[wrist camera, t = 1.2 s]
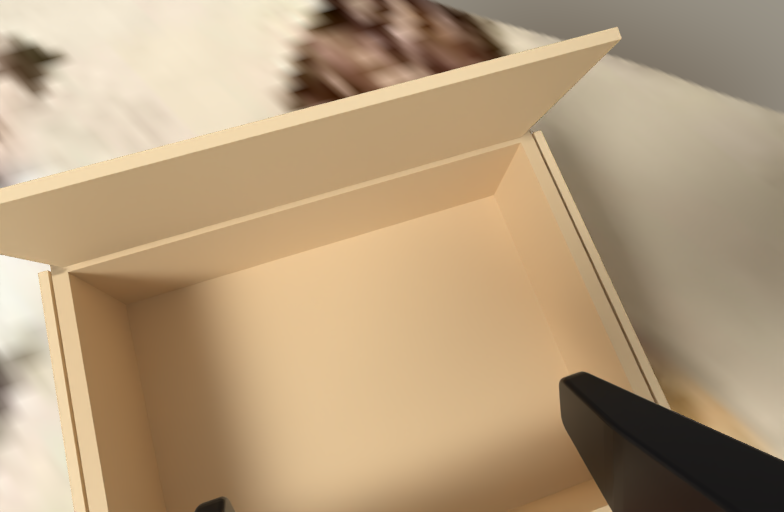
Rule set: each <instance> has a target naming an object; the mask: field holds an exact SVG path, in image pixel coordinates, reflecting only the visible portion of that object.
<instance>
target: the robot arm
mask: <svg viewBox="0 0 784 512" xmlns="http://www.w3.org/2000/svg"><path fill="white" fill-rule="evenodd" d="M559 398H560V412H561V419H562V422H563V425H564V427H565V429H566V431H567V433H568V435H569V437H570V438H571V440H572V442H573V444H574V445H575V447H576V449H577V451H578V452H579V454H580V456H581V458H582V460H583V461H584V463H585V465H586V467H587V468H588V470H589V472H590V474H591V475H592V477H593V479H594V481H595V482H596V484H597V486H598V488H599V489H600V491H601V493H602V495H603V497H604V498H605V500H606V502H607V503H608V505H609V507H610V508H611V510H612V512H784V461H783V460H781V459H779V458H776V457H774V456H772V455H770V454H767V453H765V452H763V451H761V450H759V449H756V448H754V447H752V446H750V445H747V444H745V443H743V442H741V441H739V440H736V439H734V438H732V437H730V436H727V435H725V434H723V433H721V432H719V431H716V430H714V429H712V428H710V427H707V426H705V425H703V424H701V423H699V422H696V421H694V420H692V419H690V418H687V417H685V416H683V415H681V414H679V413H676V412H674V411H672V410H670V409H667V408H665V407H663V406H661V405H659V404H656V403H654V402H652V401H650V400H647V399H645V398H643V397H641V396H639V395H636V394H634V393H632V392H630V391H627V390H625V389H623V388H621V387H619V386H616V385H614V384H612V383H610V382H607V381H605V380H603V379H601V378H599V377H596V376H594V375H592V374H590V373H587V372H583V371H581V372H577V373H574V374H571V375H568V376H566V377H563V378H561V379H560V381H559ZM194 512H235V510H234V508H233V506H232V504H231V502H230V500H229V499H228V498H227V497H225V496H221V497H218V498H215V499H212V500H210V501H207V502H204V503H201V504H200V505H199V506H198V507H197V508H196V509H195V511H194Z"/></svg>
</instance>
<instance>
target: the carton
mask: <svg viewBox="0 0 784 512" xmlns="http://www.w3.org/2000/svg"><path fill="white" fill-rule="evenodd" d="M50 267H51V272H50V271H48V270H47V271H43V272H40V273H38V277H39V283H40V290H41V296H42V303H43V309H44V316H45V323H46V329H47V336H48V342H49V349H50V355H51V362H52V369H53V375H54V382H55V388H56V395H57V401H58V408H59V415H60V421H61V428H62V434H63V441H64V447H65V454H66V461H67V467H68V474H69V480H70V487H71V493H72V500H73V507H74V512H194V511H195V509H196V508H197V507H198V506H199V505H200V504H201V503H204V502H207V501H210V500H212V499H215V498H218V497H221V496H225V497H227V498H228V499H229V500H230V502H231V504H232V506H233V508H234V510H235V512H612V510H611V508H610V507H609V505H608V503H607V502H606V500H605V498H604V497H603V495H602V493H601V491H600V489H599V488H598V486H597V484H596V482H595V481H594V479H593V477H592V475H591V474H590V472H589V470H588V468H587V467H586V465H585V463H584V461H583V460H582V458H581V456H580V454H579V452H578V451H577V449H576V447H575V445H574V444H573V442H572V440H571V438H570V437H569V435H568V433H567V431H566V429H565V427H564V425H563V422H562V419H561V412H560V398H559V381H560V379H561V378H563V377H566V376H568V375H571V374H574V373H577V372H581V371H583V372H587V373H590V374H592V375H594V376H596V377H599V378H601V379H603V380H605V381H607V382H610V383H612V384H614V385H616V386H619V387H621V388H623V389H625V390H627V391H630V392H632V393H634V394H636V395H639V396H641V397H643V398H645V399H647V400H650V401H652V402H654V403H656V404H659V405H661V406H663V407H665V408H667V409H670V410H671V408H670V406H669V404H668V402H667V400H666V398H665V395H664V393H663V391H662V389H661V387H660V385H659V383H658V380H657V378H656V376H655V374H654V372H653V370H652V368H651V365H650V363H649V361H648V359H647V357H646V355H645V353H644V350H643V348H642V346H641V344H640V342H639V340H638V338H637V335H636V333H635V331H634V329H633V327H632V325H631V322H630V320H629V318H628V316H627V314H626V312H625V310H624V307H623V305H622V303H621V301H620V299H619V297H618V295H617V292H616V290H615V288H614V286H613V284H612V282H611V280H610V277H609V275H608V273H607V271H606V269H605V267H604V265H603V262H602V260H601V258H600V256H599V254H598V252H597V250H596V247H595V245H594V243H593V241H592V239H591V237H590V235H589V232H588V230H587V228H586V226H585V224H584V222H583V219H582V217H581V215H580V213H579V211H578V209H577V207H576V204H575V202H574V200H573V198H572V196H571V194H570V192H569V189H568V187H567V185H566V183H565V181H564V179H563V177H562V174H561V172H560V170H559V168H558V166H557V164H556V162H555V159H554V157H553V155H552V153H551V151H550V149H549V147H548V144H547V142H546V140H545V138H544V136H543V134H542V132H541V130H540V131H536V132H533V134H531V132H530V130H528V131H527V132H526V133H525V134H524V135H523V136H522V137H520V138H516V139H513V140H509V141H506V142H502V143H499V144H495V145H492V146H488V147H485V148H481V149H477V150H474V151H470V152H467V153H463V154H460V155H456V156H453V157H449V158H446V159H442V160H439V161H435V162H432V163H428V164H425V165H421V166H418V167H414V168H411V169H407V170H404V171H400V172H397V173H393V174H390V175H386V176H383V177H379V178H376V179H372V180H369V181H365V182H361V183H358V184H354V185H351V186H347V187H344V188H340V189H337V190H333V191H330V192H326V193H323V194H319V195H316V196H312V197H309V198H305V199H302V200H298V201H295V202H291V203H288V204H284V205H281V206H277V207H274V208H270V209H267V210H263V211H260V212H256V213H253V214H249V215H246V216H242V217H238V218H235V219H231V220H228V221H224V222H221V223H217V224H214V225H210V226H207V227H203V228H200V229H196V230H193V231H189V232H186V233H182V234H179V235H175V236H172V237H168V238H165V239H161V240H158V241H154V242H151V243H147V244H144V245H140V246H137V247H133V248H130V249H126V250H122V251H119V252H115V253H112V254H108V255H105V256H101V257H98V258H94V259H91V260H87V261H84V262H80V263H77V264H73V265H70V266H66V267H59V266H54V265H50Z"/></svg>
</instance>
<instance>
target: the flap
mask: <svg viewBox="0 0 784 512" xmlns="http://www.w3.org/2000/svg"><path fill="white" fill-rule="evenodd" d="M621 39H622V38H621V35H620V32H619V30H618V28H617V27H615V28H611V29H607V30H604V31H599V32H596V33H592V34H588V35H584V36H580V37H577V38H573V39H569V40H565V41H561V42H557V43H554V44H550V45H546V46H542V47H538V48H535V49H531V50H527V51H523V52H519V53H515V54H512V55H508V56H504V57H500V58H496V59H493V60H489V61H485V62H481V63H477V64H474V65H470V66H466V67H462V68H458V69H454V70H451V71H447V72H443V73H439V74H435V75H432V76H428V77H424V78H420V79H416V80H412V81H409V82H405V83H401V84H397V85H393V86H390V87H386V88H382V89H378V90H374V91H370V92H367V93H363V94H359V95H355V96H351V97H348V98H344V99H340V100H336V101H332V102H329V103H325V104H321V105H317V106H313V107H309V108H306V109H302V110H298V111H294V112H290V113H287V114H283V115H279V116H275V117H271V118H267V119H264V120H260V121H256V122H252V123H248V124H245V125H241V126H237V127H233V128H229V129H225V130H222V131H218V132H214V133H210V134H206V135H203V136H199V137H195V138H191V139H187V140H184V141H180V142H176V143H172V144H168V145H164V146H161V147H157V148H153V149H149V150H145V151H142V152H138V153H134V154H130V155H126V156H122V157H119V158H115V159H111V160H107V161H103V162H100V163H96V164H92V165H88V166H84V167H81V168H77V169H73V170H69V171H65V172H61V173H58V174H54V175H50V176H46V177H42V178H39V179H35V180H31V181H27V182H23V183H19V184H16V185H12V186H8V187H4V188H0V254H1V255H5V256H10V257H15V258H20V259H25V260H30V261H34V262H39V263H44V264H49V265H54V266H59V267H66V266H70V265H73V264H77V263H80V262H84V261H87V260H91V259H94V258H98V257H101V256H105V255H108V254H112V253H115V252H119V251H122V250H126V249H130V248H133V247H137V246H140V245H144V244H147V243H151V242H154V241H158V240H161V239H165V238H168V237H172V236H175V235H179V234H182V233H186V232H189V231H193V230H196V229H200V228H203V227H207V226H210V225H214V224H217V223H221V222H224V221H228V220H231V219H235V218H238V217H242V216H246V215H249V214H253V213H256V212H260V211H263V210H267V209H270V208H274V207H277V206H281V205H284V204H288V203H291V202H295V201H298V200H302V199H305V198H309V197H312V196H316V195H319V194H323V193H326V192H330V191H333V190H337V189H340V188H344V187H347V186H351V185H354V184H358V183H361V182H365V181H369V180H372V179H376V178H379V177H383V176H386V175H390V174H393V173H397V172H400V171H404V170H407V169H411V168H414V167H418V166H421V165H425V164H428V163H432V162H435V161H439V160H442V159H446V158H449V157H453V156H456V155H460V154H463V153H467V152H470V151H474V150H477V149H481V148H485V147H488V146H492V145H495V144H499V143H502V142H506V141H509V140H513V139H516V138H520V137H522V136H523V135H524V134H525V133H526V132H527V131H528V130H529V129H530V128H531V127H532V126H533V125H534V124H535V123H536V122H537V121H538V120H539V119H540V118H541V117H542V116H543V115H544V114H545V113H546V112H547V111H548V110H549V109H550V108H551V107H552V106H553V105H555V104H556V103H557V102H558V101H559V100H560V99H561V98H562V97H563V96H564V95H565V94H566V93H567V92H568V91H569V90H570V89H571V88H572V87H573V86H574V85H575V84H576V83H577V82H578V81H579V80H580V79H581V78H582V77H583V76H584V75H585V74H586V73H587V72H588V71H589V70H590V69H591V68H592V67H593V66H594V65H595V64H596V63H597V62H598V61H599V60H601V59H602V58H603V57H604V56H605V55H606V54H607V53H608V52H609V51H610V50H611V49H612V48H613V47H614V46H615V45H616V44H617V43H618V42H619V41H620V40H621Z"/></svg>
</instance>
